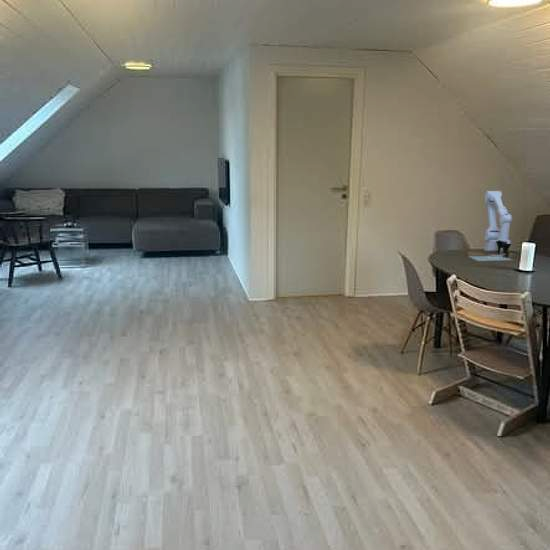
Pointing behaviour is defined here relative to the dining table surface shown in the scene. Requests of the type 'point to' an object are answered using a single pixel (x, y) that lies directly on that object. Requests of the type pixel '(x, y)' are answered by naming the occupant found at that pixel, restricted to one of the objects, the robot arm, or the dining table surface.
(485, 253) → the walls
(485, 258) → the mat
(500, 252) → the bracket
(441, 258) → the dining table surface
